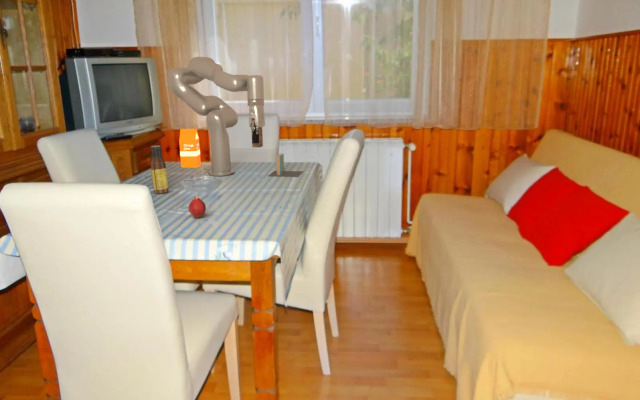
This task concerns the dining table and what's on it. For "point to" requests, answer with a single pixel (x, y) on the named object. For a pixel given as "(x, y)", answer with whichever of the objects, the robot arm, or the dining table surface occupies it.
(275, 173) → the mat
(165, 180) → the sauce bottle
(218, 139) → the robot arm
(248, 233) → the dining table surface
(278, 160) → the tile
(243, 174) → the dining table surface
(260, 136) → the block
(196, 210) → the onion
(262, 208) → the dining table surface
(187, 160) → the orange juice
